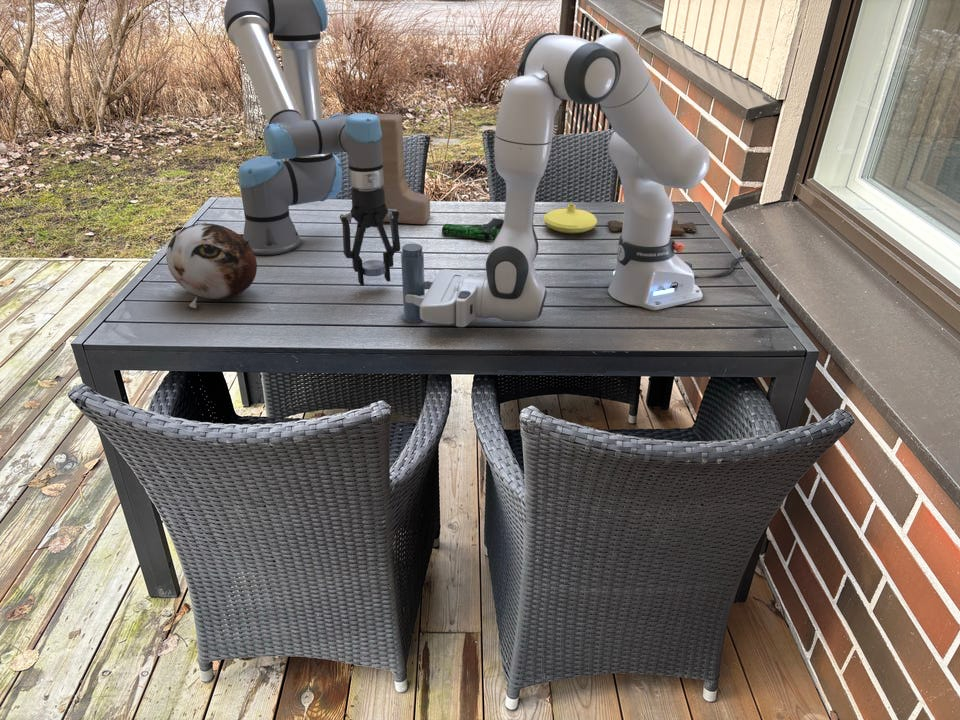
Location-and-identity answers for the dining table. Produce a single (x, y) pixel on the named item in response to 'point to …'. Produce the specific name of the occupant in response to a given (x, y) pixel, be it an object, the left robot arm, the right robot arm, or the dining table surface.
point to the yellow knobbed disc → (570, 220)
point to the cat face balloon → (211, 261)
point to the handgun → (475, 230)
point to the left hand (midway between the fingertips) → (374, 281)
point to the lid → (374, 268)
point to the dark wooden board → (676, 229)
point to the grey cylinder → (412, 279)
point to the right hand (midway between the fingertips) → (409, 291)
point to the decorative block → (399, 175)
